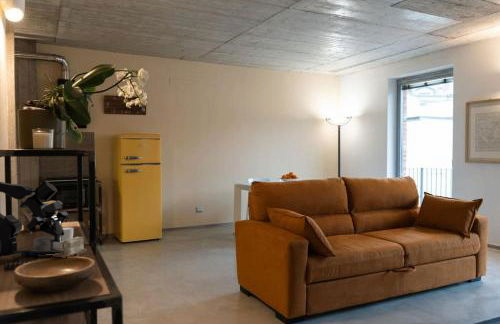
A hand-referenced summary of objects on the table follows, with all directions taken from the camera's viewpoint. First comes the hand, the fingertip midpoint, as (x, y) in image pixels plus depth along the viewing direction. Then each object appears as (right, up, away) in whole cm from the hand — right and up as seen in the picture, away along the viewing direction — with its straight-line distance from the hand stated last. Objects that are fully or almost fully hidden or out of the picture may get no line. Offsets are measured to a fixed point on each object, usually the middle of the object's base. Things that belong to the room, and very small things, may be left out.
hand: (60, 235), depth 170 cm
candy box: (-33, -7, +59) cm, 69 cm away
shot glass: (-7, -7, +21) cm, 23 cm away
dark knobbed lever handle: (-5, -5, +1) cm, 7 cm away
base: (-2, -8, +1) cm, 8 cm away
